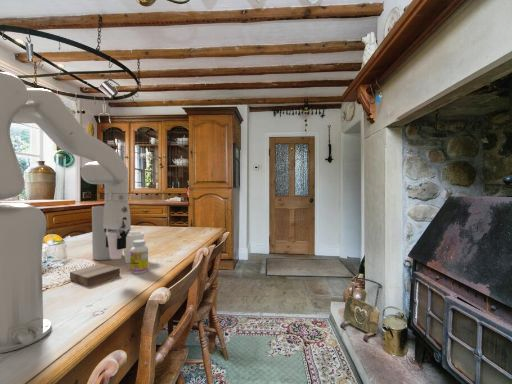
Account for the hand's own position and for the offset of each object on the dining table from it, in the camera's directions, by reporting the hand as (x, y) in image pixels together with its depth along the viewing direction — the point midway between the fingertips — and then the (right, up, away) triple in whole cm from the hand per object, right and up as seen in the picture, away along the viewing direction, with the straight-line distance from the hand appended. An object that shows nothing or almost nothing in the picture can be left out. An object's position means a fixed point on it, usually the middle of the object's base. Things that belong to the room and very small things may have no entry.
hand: (115, 247), depth 95 cm
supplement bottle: (+3, -13, +12) cm, 18 cm away
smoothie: (0, -4, 0) cm, 4 cm away
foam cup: (-6, -12, +27) cm, 30 cm away
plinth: (-10, -13, +5) cm, 17 cm away
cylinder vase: (-22, -12, +33) cm, 42 cm away
